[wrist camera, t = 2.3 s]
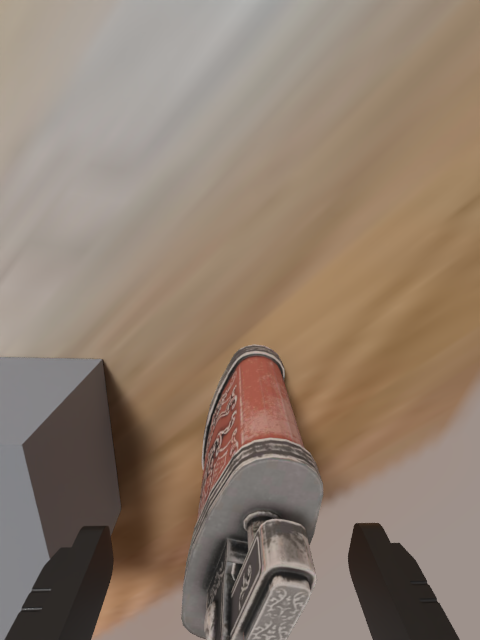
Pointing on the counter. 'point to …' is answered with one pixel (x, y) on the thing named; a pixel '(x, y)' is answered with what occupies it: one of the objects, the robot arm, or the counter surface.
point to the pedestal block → (50, 467)
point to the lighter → (252, 509)
